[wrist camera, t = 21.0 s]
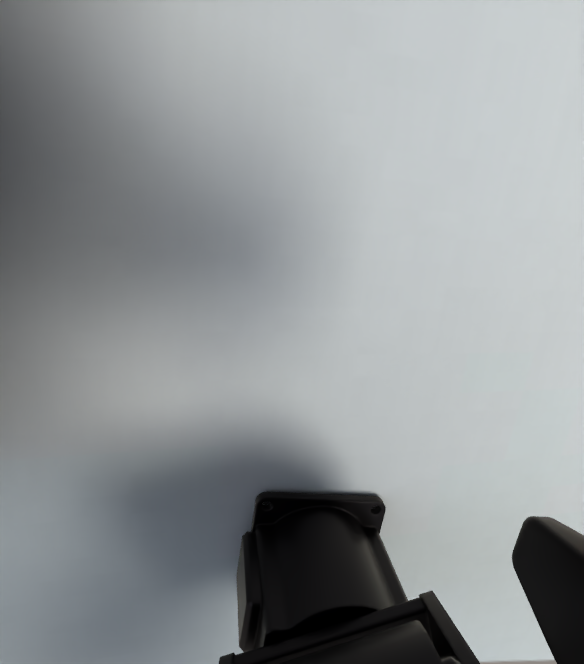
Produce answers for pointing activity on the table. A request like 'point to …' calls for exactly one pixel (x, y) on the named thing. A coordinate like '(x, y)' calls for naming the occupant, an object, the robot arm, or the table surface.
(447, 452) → the table surface
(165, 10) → the table surface
